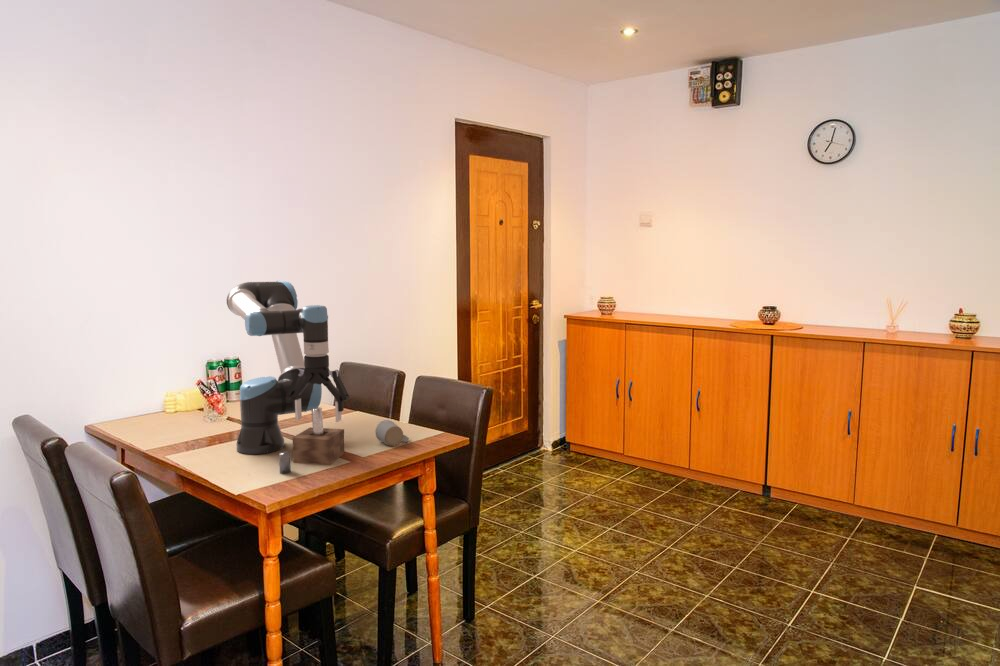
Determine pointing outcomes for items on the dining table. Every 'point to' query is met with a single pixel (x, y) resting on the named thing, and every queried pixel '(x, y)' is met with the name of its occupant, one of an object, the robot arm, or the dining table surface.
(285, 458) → the short pin
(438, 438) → the dining table surface
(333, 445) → the hole block
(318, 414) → the tall pin
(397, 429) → the ceramic mug
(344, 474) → the dining table surface
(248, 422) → the robot arm
